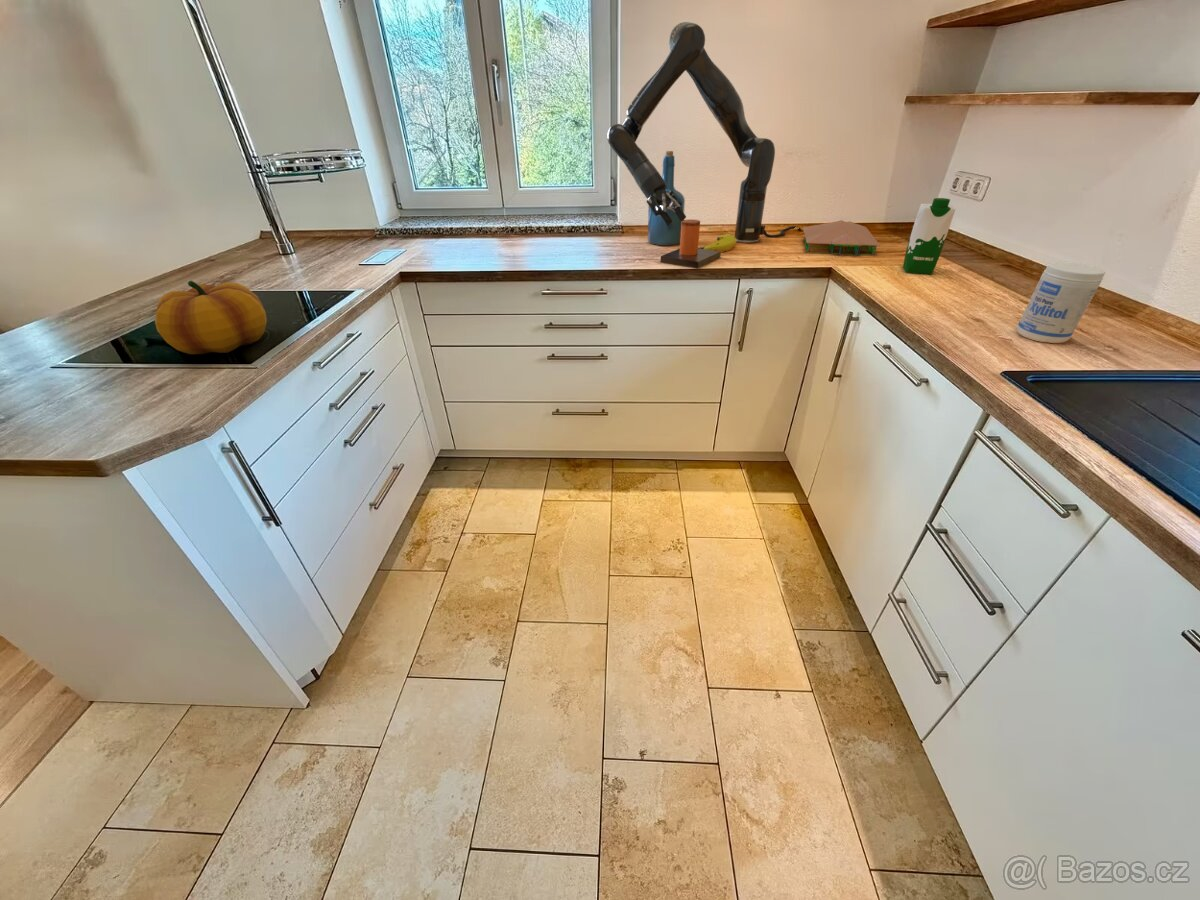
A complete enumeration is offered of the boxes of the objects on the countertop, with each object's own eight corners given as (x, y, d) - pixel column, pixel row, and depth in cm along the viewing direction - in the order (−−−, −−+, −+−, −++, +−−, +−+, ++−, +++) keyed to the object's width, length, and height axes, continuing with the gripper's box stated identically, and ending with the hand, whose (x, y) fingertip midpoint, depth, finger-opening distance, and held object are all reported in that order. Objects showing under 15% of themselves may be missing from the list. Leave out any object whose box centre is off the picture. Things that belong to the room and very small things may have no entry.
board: (684, 252, 180) (684, 246, 179) (720, 257, 173) (721, 251, 172) (660, 262, 169) (660, 256, 168) (697, 268, 162) (698, 261, 161)
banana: (733, 230, 189) (692, 236, 191) (739, 236, 174) (695, 244, 177) (734, 242, 191) (693, 249, 194) (740, 250, 176) (696, 257, 179)
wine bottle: (684, 246, 188) (691, 152, 171) (648, 246, 188) (651, 153, 171) (680, 237, 199) (685, 149, 182) (646, 238, 199) (648, 150, 182)
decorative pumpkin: (254, 360, 110) (223, 290, 101) (147, 366, 109) (107, 296, 100) (293, 326, 126) (269, 264, 118) (201, 331, 125) (171, 269, 117)
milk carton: (903, 273, 152) (925, 200, 141) (899, 265, 159) (920, 195, 148) (936, 275, 150) (961, 200, 139) (930, 267, 157) (954, 196, 146)
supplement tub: (1012, 337, 111) (1043, 268, 102) (1017, 324, 117) (1048, 258, 108) (1068, 348, 105) (1106, 276, 97) (1071, 334, 111) (1107, 265, 103)
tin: (685, 250, 174) (687, 218, 168) (700, 252, 171) (703, 220, 165) (676, 254, 170) (678, 221, 164) (692, 256, 167) (694, 223, 161)
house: (805, 254, 173) (810, 229, 169) (800, 234, 199) (804, 211, 195) (878, 257, 168) (885, 231, 163) (863, 236, 194) (869, 213, 190)
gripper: (644, 174, 160) (673, 217, 160) (667, 169, 169) (695, 210, 169) (630, 191, 165) (658, 233, 166) (653, 186, 175) (680, 225, 175)
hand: (677, 221), depth 168 cm, fingers open, 8 cm apart
